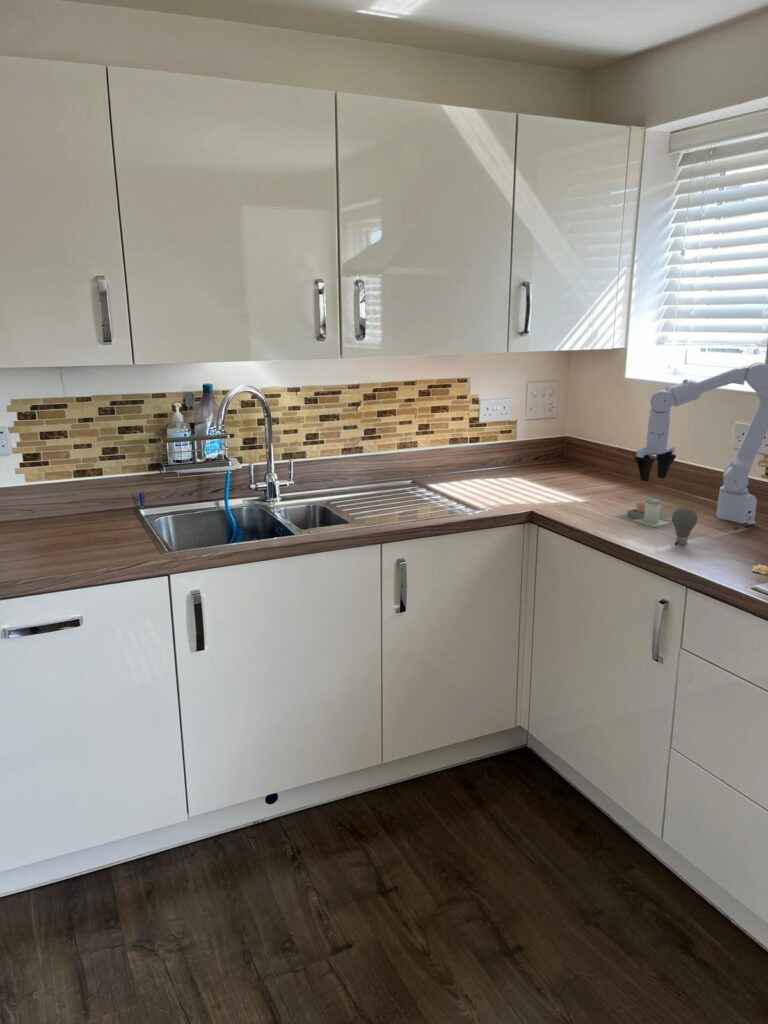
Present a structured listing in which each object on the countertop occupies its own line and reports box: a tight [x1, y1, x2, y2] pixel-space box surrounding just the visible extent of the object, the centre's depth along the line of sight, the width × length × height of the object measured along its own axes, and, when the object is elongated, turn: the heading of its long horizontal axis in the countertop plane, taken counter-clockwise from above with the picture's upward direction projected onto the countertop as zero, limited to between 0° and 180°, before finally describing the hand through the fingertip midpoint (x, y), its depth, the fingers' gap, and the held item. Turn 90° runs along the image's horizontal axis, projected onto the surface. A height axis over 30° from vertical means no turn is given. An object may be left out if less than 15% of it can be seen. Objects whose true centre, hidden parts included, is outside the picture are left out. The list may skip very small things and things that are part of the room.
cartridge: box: [643, 497, 662, 524], centre depth 208 cm, size 4×4×6 cm
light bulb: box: [671, 506, 698, 546], centre depth 192 cm, size 6×6×10 cm
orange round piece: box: [635, 502, 645, 514], centre depth 214 cm, size 4×4×3 cm
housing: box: [615, 508, 674, 530], centre depth 213 cm, size 14×17×3 cm
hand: (652, 479), depth 221 cm, fingers open, 7 cm apart
